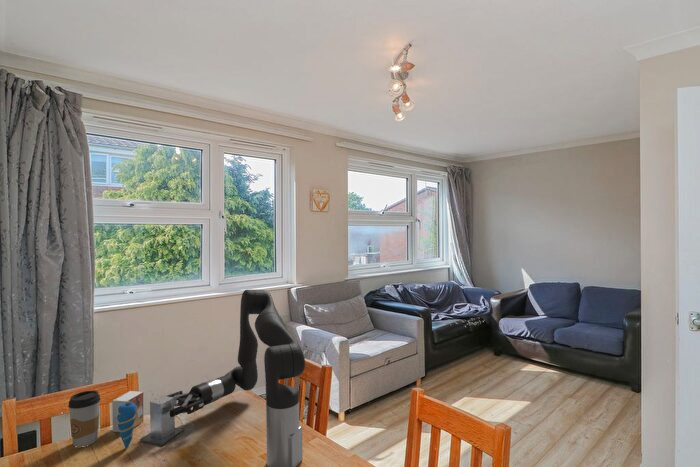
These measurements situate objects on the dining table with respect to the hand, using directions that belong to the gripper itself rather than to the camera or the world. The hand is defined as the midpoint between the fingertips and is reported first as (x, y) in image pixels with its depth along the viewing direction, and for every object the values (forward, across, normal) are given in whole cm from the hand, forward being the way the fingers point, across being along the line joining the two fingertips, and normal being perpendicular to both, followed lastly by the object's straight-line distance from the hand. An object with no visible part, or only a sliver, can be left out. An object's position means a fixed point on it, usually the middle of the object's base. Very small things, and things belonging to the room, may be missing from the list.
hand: (163, 410), depth 125 cm
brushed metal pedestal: (0, 0, +8) cm, 8 cm away
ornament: (+10, -2, +8) cm, 13 cm away
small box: (+4, -16, +9) cm, 18 cm away
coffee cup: (+16, -16, +8) cm, 25 cm away
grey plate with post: (0, 0, +9) cm, 9 cm away
